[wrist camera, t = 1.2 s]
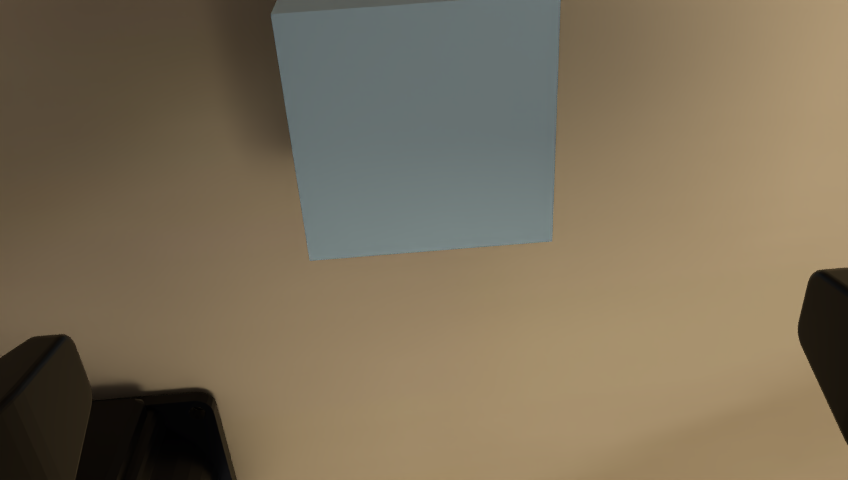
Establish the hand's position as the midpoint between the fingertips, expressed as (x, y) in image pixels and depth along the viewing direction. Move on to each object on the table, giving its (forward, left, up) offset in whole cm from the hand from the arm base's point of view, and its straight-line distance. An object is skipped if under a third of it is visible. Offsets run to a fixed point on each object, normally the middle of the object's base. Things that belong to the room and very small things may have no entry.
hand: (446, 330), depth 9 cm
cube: (0, 0, -11) cm, 11 cm away
